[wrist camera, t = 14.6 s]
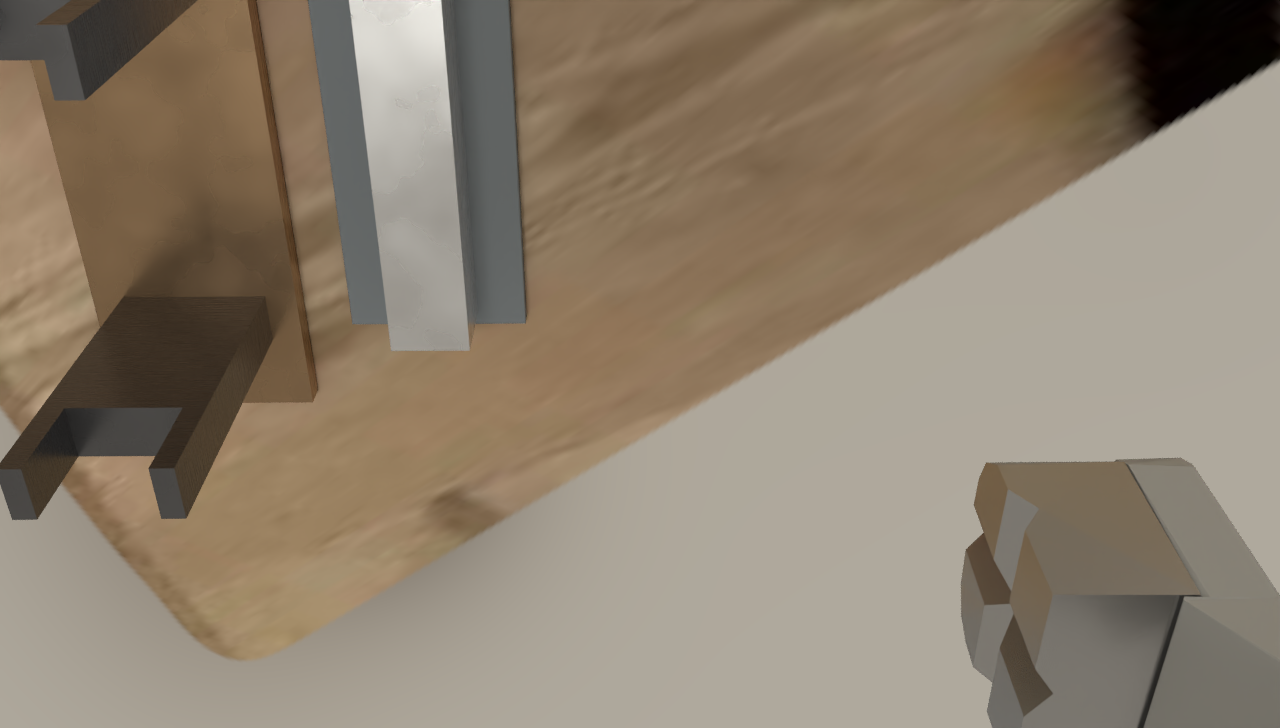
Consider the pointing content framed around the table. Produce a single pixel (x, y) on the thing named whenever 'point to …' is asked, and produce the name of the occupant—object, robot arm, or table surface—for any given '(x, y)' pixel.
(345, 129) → the mat
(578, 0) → the table surface
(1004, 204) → the table surface
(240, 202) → the rack
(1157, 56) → the table surface
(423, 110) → the rail
